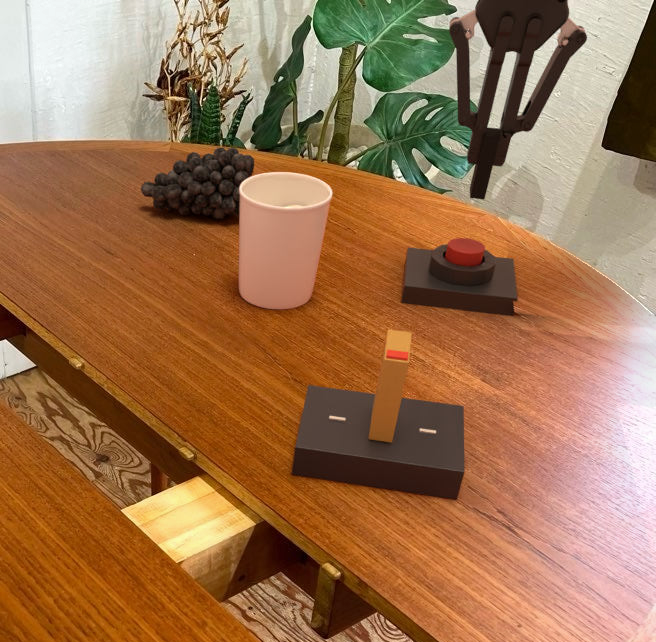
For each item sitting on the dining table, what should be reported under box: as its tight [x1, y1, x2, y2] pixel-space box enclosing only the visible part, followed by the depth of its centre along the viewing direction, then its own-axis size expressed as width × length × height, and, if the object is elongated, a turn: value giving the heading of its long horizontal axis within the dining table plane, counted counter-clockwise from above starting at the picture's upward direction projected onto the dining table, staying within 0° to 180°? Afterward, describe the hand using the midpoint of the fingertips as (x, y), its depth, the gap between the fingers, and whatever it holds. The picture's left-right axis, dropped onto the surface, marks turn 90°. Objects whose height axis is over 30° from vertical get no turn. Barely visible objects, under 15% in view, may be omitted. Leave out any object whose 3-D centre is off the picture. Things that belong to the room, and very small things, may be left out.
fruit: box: [140, 147, 255, 220], centre depth 124 cm, size 9×8×15 cm
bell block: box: [400, 243, 519, 317], centre depth 109 cm, size 12×10×4 cm
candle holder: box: [238, 171, 333, 310], centre depth 105 cm, size 10×10×12 cm
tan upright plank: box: [369, 329, 413, 443], centre depth 81 cm, size 5×2×8 cm, turn 166°
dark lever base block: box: [291, 384, 466, 500], centre depth 85 cm, size 14×10×3 cm
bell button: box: [445, 237, 486, 266], centre depth 107 cm, size 4×4×2 cm
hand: (477, 193), depth 103 cm, fingers closed
